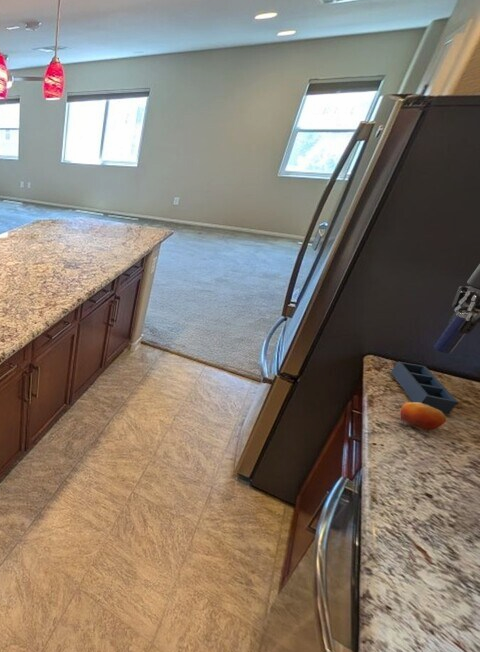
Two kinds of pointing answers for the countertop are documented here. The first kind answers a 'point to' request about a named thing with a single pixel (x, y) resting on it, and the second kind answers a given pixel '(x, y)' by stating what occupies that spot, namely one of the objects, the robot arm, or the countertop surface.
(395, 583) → the countertop surface
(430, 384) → the rack
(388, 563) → the countertop surface
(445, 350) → the thermos
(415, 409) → the fruit
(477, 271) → the robot arm
